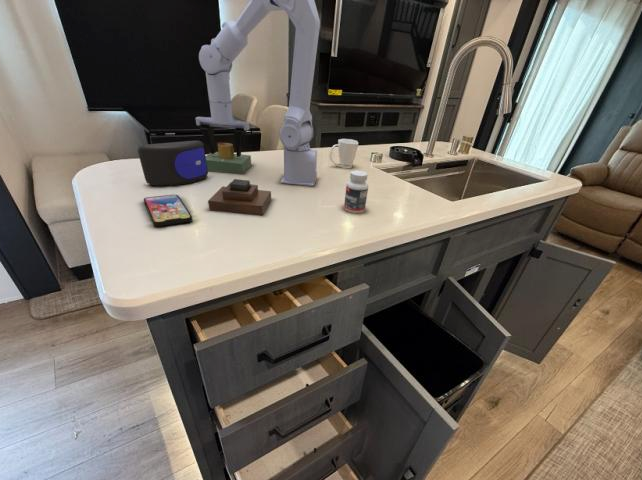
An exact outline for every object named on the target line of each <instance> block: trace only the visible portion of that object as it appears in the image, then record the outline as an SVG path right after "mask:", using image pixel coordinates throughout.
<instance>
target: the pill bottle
mask: <svg viewBox="0 0 642 480" xmlns="http://www.w3.org/2000/svg"><path fill="white" fill-rule="evenodd" d="M367 180H368V172H366V171H363V170H352V171H350V173H349V180H348V181H347V182H346V185H345V186H346V187H345V194H344V195H345V196H344V205H343V209H344V210H345V211H346V212H348V213H351V214H361V213H364V212H365V210H366V206H367V205H366V204H367V198H368V194H369V193H368V191H369V184H368V183H367Z"/></svg>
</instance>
